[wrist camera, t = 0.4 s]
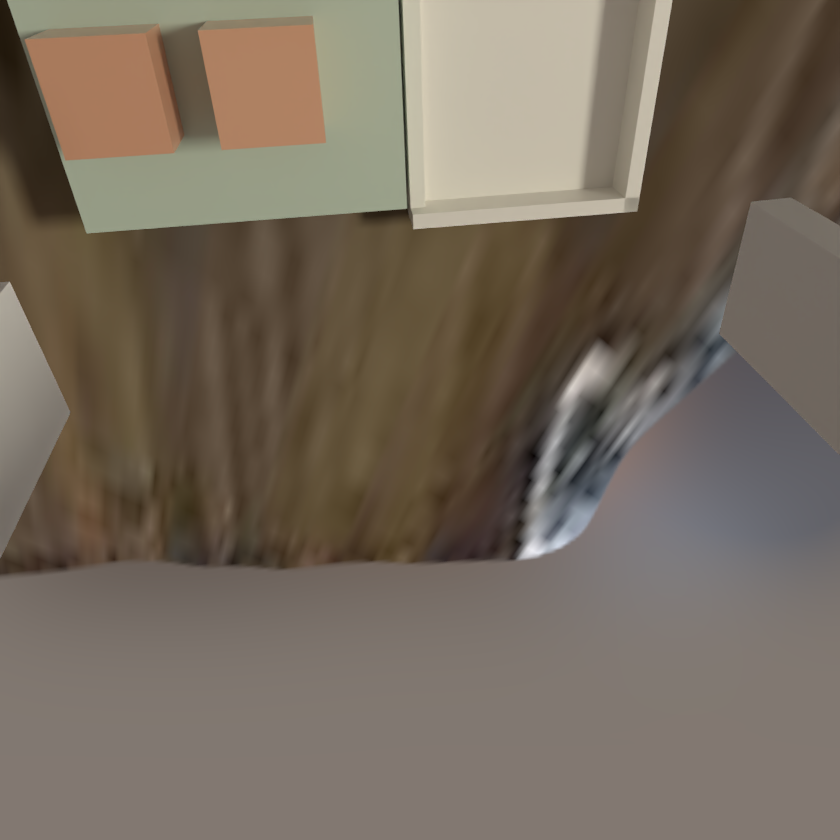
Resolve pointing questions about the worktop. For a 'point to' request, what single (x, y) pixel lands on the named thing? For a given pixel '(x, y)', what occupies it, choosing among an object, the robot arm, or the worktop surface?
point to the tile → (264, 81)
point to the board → (250, 167)
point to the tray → (527, 106)
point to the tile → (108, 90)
